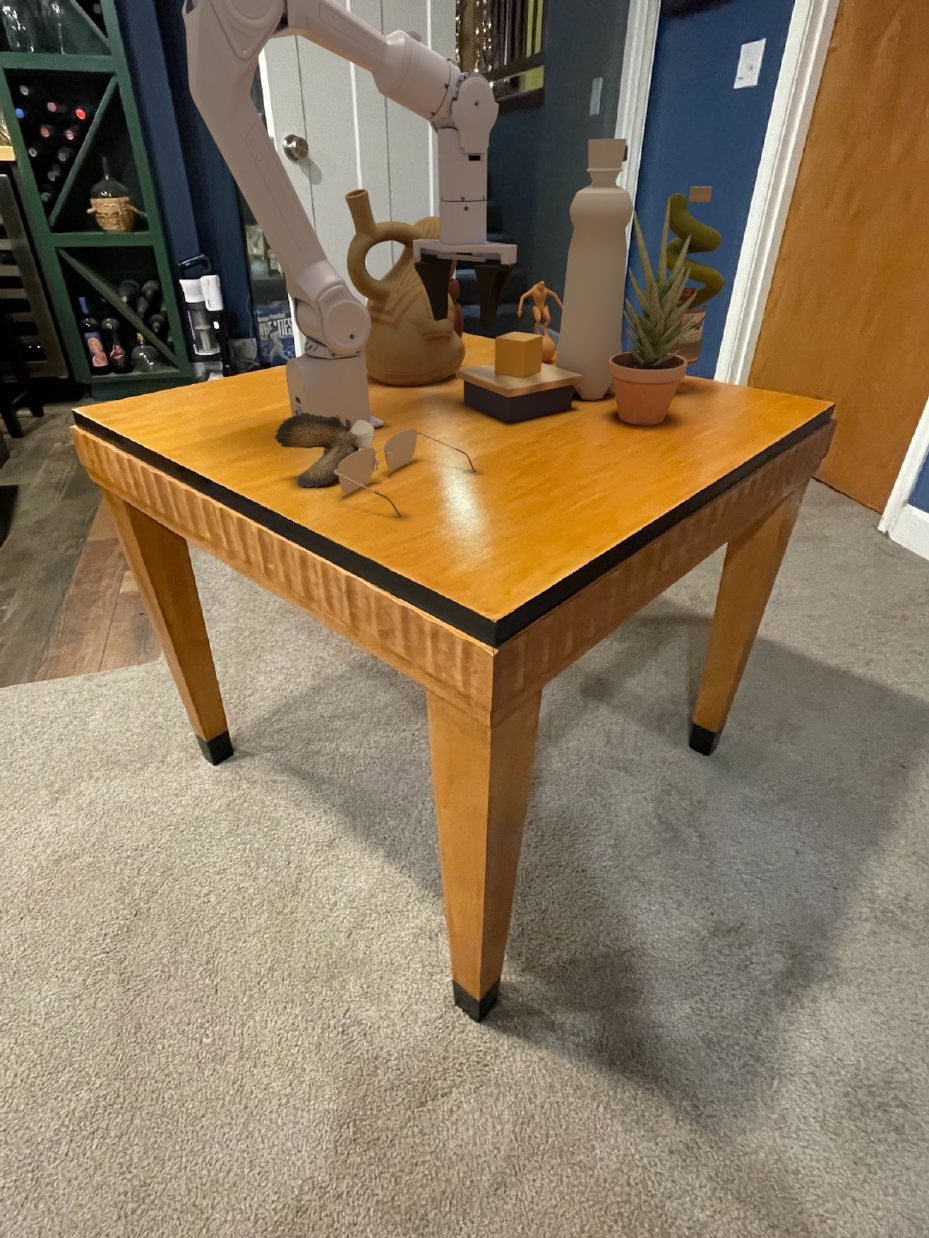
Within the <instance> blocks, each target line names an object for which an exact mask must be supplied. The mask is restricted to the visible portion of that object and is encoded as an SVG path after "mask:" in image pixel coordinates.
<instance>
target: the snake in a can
mask: <svg viewBox="0 0 929 1238" xmlns="http://www.w3.org/2000/svg"><path fill="white" fill-rule="evenodd" d="M713 188H714V187H713V186H690V193H689V196H688V199H687V196H686V195H685V194H684V193H681V192H676V193H675V192H674V193H672V194H671V195H669V196H670V215H669V227H668V228H669V229H670V231H671V232H672V233H673V234H674V235H675V236H676V237H673V238H672V239H671V240H670V241H669V242H667V247H666V269H667V270H669V272H670V273H671V272H672V270H673V268H674V266H675V264H676V262H677V260H678V257H679V255H680V253H681V251H682V249H683V246H684V244H685V242H686V240H687V239H688V237H689V235H690V234H691V236H690V241H689V245H688V249H687V252H686V255H691V254H700V253H702V254H703V253H712V252H714V251H716V250H718V248H719V247H720V246H721V242H722V236H721V233H720V232H719V231H718V230H717V229H715V228H713V227H710V226H708V225H706V224H704V223H702V222H700V220H697V219H696V218H694V216H692V215H691V214H690V213H689V211H688V205H689V204H688V202H689V203H710V202H711V199H712V190H713ZM668 200H669V197H668V198H667V200H666V202H665V211H666V210H667V204H668ZM684 266H685V268H684V273H683V276H682V278H684V276H685V274H686V272H687V271H688V269H689V267H690V269H691V270H690V274H689V277H688V280H692V281H695V282H698V283H701V284H702V285H703V284H704V285H703V286H701V287H699V288H696V287H686V286H684V289H683V291H682V294H681V296H680V298H679V300H678V302H677V305H676V306H677V309H678V308H680V307H681V306H682V305H683V304H684V303H685V302H686V301H687V300H688V299H689V298H690V297H691V296H692V295H693V294H694V293H695V292H696V296H695V298H694V299H693V301H692V302H691V304H690V305H689V307H688V308H687V309H686V311H685V312H684V313H683V314H682V316H681V317H683V318H682V320H681V322H680V323H679V325H678V326H677V327H679V326H680V325H682V324H683V323H684V322H685V321H686V320H687V319H688V318H689V317H690V316H691V315H692V314H693V315H694V317H693V318H692V319H691V320H690V321H689V322H688V324H686V325H685V326H684V327H683V328H682V329H681V330H683V329H684V328H686V327H687V326H689V325H690V324H691V323H693V322H694V321H696V323H695V324H694V325H693V326H692V327H691V328H690V329H689V330H688V331H687V332H686V333H685V334H684V335H683V337H682V338H681V339H680V340H679V341H678V342H677V343H676V344H675V345H674V346H673V347H672V348H671V349H670V350H669V351H668V353H671V354H672V353H674V352H676V351H677V350H680V351H679V352H678V353H677V354H676V355H679V356H682V357H684V358H685V359H686V360H687V363H688V364H687V366H691V365H695V364H697V363H698V358H699V357H700V356H701V350H702V346H703V345H702V344H703V337H702V336H703V329H704V323H705V318H706V312H707V304H705V303H707V302H709V301H710V300H712V299H713V298H714V297H716V296H717V295H719V294H720V293H721V291H722V289H723V287H724V284H725V278H724V277H723V275H722V274H721V273H720V272H719V271H718V270H716V269H714V268H713V267H710V266H709V265H706V264H703V263H701V262H698V261H696V260H693V259H691V258H690V257H689V258H688V257H687V256H685V259H684V262H683V265H682V267H684ZM682 267H681V270H682ZM681 270H680V272H681ZM679 274H680V273H679ZM701 305H702V308H697V307H699V306H701ZM677 309H676V310H677ZM681 317H680V318H681ZM680 318H679V319H680ZM679 319H678V320H679ZM676 323H677V322H676ZM676 323H675V324H676ZM675 324H674V325H675ZM677 327H676V328H677ZM681 330H680V331H681ZM680 331H679V332H680ZM679 332H678V333H679Z"/></svg>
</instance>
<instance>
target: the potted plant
mask: <svg viewBox="0 0 929 1238" xmlns="http://www.w3.org/2000/svg"><path fill="white" fill-rule="evenodd" d="M670 196H671V195H669V196H668V198H669V200H668V204H667V210H666V209H665V218H664V223H663V229H662V237H661V243H660V253H659V261H658V269H657V276H656V278H655V274H654V271H653V268H652V264H651V262H650V258H649V254H648V251H647V247H646V244H645V240H644V237H643V233H642V229H641V226H640V223H639V220H638V215H637V212H636V210H633V223H634V231H635V236H636V242H637V247H638V253H639V257H640V261H641V262H640V263H641V266H642V270H643V274H644V279H645V286H646V290H644V289H642V287H641V286H640V284H639V282H638V281H637V279H636V277H635V275H634V273H633V270H632V268H631V267H629V268H628V272H629V276H630V277H629V278H630V281H631V284H632V287H633V290H634V292H635V295H636V298H637V300H638V304H639V305H640V308H641V310H642V314H643V316H642V315H640V314H639V313H638V312H636V311H635V309H634V308H633V306H632V304H631V303H630V301H629V300H628V298H625V304H626V306H625V307H626V310H623V316H624V317H625V319H626V322H627V323H628V325H629V328H631V330H632V331H633V333H634V334H635V335H636V336H637V338H636V337H635V335H634V334H633V333H632V332H631V331H630V329H629V328H627V327H625V331H626V334H627V336H628V337H629V340H630V341H631V343H632V344H633V345H634V347H631V346H630V345H629V351H626V352H622V353H621V354H618V355H614V356H612V357H611V358H610V359H609V373H610V374H611V375H612V377H613V383H614V390H613V391H614V395H615V402H616V407H617V414H618V418H619V420H621V421H623V422H624V423H627V424H632V425H638V426H651V425H656V424H661V423H662V422H664V420H665V418H666V416H667V414H668V411H669V409H670V406H671V403H672V401H673V400H674V396H675V395H676V391H677V389H678V387H679V385H680V382H681V380H683V378H684V377H685V376H687V375H686V374H687V368H688V365H687V364H688V363H687V360H686V359H685V358H684V357H682V356H679V355H676V354H677V353H678V352H679V351H680V350H677V351H676V352H674V353H672V354H671V353H668V351H669V350H670V349H671V348H672V347H673V346H674V345H675V344H676V343H677V342H678V341H679V340H680V339H681V338H682V337H683V335H684V334H685V333H686V332H687V331H688V330H689V329H690V328H691V327H692V326H693V325H694V324H695V323H696V321H694V322H693V323H691V324H690V325H689V326H687V327H686V328H684V329H683V330H681V329H682V328H683V327H684V326H685V325H686V324H688V322H689V321H690V320H691V319H692V318H693V317H694V315H693V314H692V315H691V316H690V317H689V318H688V319H687V320H686V321H685V322H684V323H683V324H682V325H680V326H679V327H677V326H678V325H679V323H680V322H681V320H682V318H683V317H681V316H682V314H683V313H684V312H685V311H686V309H687V308H688V307H689V305H690V304H691V302H692V301H693V299H694V298H695V296H696V292H695V293H694V294H693V295H692V296H691V297H690V298H689V299H688V300H687V301H686V302H685V303H684V304H683V305H682V306H681V307H680V308H678V309H677V306H676V305H677V302H678V300H679V298H680V296H681V294H682V291H683V289H684V287H686V284H687V282H688V280H689V279H688V277H689V274H690V270H691V269H690V267H689V269H688V271H687V272H686V274H685V276H684V277H683V273H684V268H685V266H684V267H682V265H683V262H684V259H685V257H687V256H686V255H687V254H686V252H687V249H688V245H689V241H690V236H691V234H690V235H689V237H688V239H687V240H686V242H685V244H684V246H683V249H682V251H681V253H680V255H679V257H678V260H677V262H676V264H675V266H674V268H673V270H672V272H671V271H670V274H669V276H668V278H667V268H666V247H667V244H668V235H669V228H670V227H669V215H670ZM681 267H682V270H681ZM680 270H681V272H680ZM679 273H680V274H679ZM676 309H677V310H676ZM626 311H627V312H628V313H627V312H626ZM628 314H629V315H630V316H629V315H628ZM680 317H681V318H680ZM679 318H680V319H679ZM678 319H679V320H678ZM676 322H677V323H676ZM675 323H676V324H675ZM674 324H675V325H674ZM676 327H677V328H676ZM680 330H681V331H680ZM679 331H680V332H679ZM678 332H679V333H678Z"/></svg>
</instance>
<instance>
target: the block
mask: <svg viewBox="0 0 929 1238" xmlns="http://www.w3.org/2000/svg"><path fill="white" fill-rule="evenodd" d="M543 336H544V335H542V334H540V335H537V333H535V334H534V333H528V332H521V331H511V332H507V333H504V334H502V335H499V336H496V337H495V338H494V339H495V340H494V341H495V343H494V344H495V345H494V350H495V351H494V363H495V373H497V374H502V375H508V376H514V377H520V378H525V377H527V376H530V375H532V374H535V373H537V372H540V371H541V365H542V363H543V362H542V346H543Z"/></svg>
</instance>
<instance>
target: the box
mask: <svg viewBox="0 0 929 1238" xmlns="http://www.w3.org/2000/svg"><path fill="white" fill-rule="evenodd" d="M455 377H456V378H458V379H460V380H463V404H464V405H466V406H469V407H471V408H474V409H476V410H478V411H481V412H483V413H485V414H487V415H490V416H492V417H494V418H496V419H498V420H501V421H504V422H506V423H509V424H511V423H516V422H521V421H523V420H528V419H533V418H537V417H542V416H546V415H551V414H556V413H560V412H564V411H569V410H572V407H573V405H572V404H573V395H574V394H573V384H578V383H581V382H582V375H580V374H577V373H573V372H570V371H567V370H564V369H561V368H557V367H556V366H554V365H550V364H547V363H546V362H542V365H541V371H540V372H537V373H535V374H532V375H530V376H527V377H525V378H520V377H514V376H508V375H502V374H497V373H495V362H493V363H486V364H482V365H475V366H470V367H464V368H459V369H457V370H456V373H455ZM572 394H573V395H572Z"/></svg>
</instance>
